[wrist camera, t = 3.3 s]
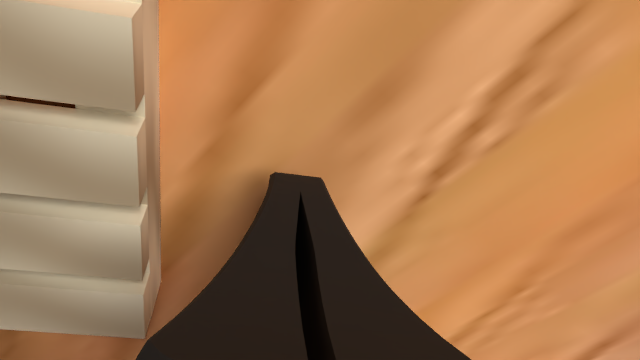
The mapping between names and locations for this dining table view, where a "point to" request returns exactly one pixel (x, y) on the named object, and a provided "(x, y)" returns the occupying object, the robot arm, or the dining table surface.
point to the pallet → (80, 166)
